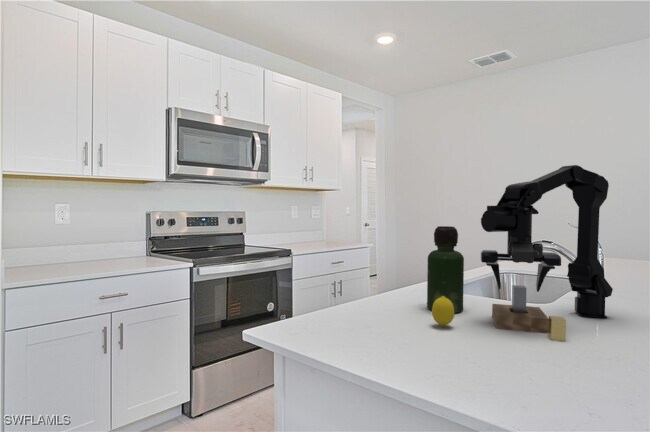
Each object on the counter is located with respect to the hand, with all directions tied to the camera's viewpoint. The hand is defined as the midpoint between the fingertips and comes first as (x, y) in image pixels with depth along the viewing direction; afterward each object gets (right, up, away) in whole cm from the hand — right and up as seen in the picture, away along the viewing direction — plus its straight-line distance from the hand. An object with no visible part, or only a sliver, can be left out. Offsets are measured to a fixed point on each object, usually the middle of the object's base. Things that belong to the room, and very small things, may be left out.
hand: (518, 290), depth 108 cm
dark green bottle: (-15, -9, +15) cm, 23 cm away
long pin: (0, -9, 0) cm, 9 cm away
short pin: (+4, -10, -11) cm, 15 cm away
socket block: (0, -9, 0) cm, 9 cm away
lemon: (-21, -9, -2) cm, 23 cm away
